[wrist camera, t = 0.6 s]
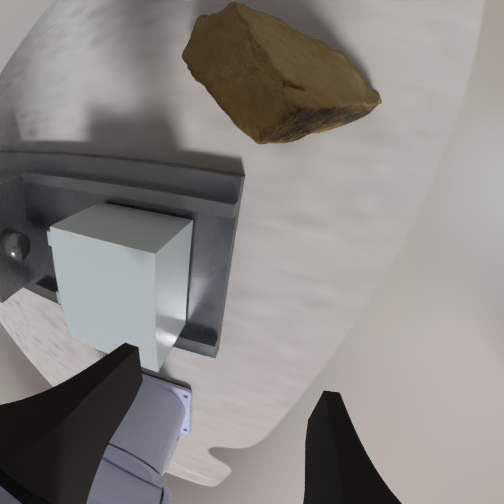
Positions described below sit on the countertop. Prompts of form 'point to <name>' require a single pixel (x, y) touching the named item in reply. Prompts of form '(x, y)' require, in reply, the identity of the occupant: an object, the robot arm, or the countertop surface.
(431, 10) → the countertop surface
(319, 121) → the rock
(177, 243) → the pale blue-grey box
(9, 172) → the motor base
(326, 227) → the countertop surface
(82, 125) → the countertop surface
